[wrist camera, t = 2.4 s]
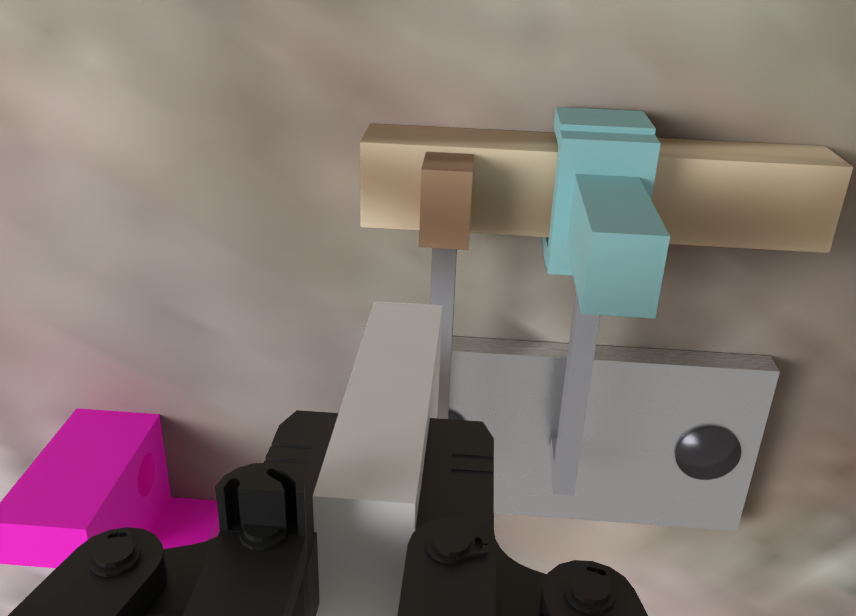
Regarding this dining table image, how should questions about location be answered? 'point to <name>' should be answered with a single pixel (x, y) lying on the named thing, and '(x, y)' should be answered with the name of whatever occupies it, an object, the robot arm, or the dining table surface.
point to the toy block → (98, 491)
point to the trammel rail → (534, 185)
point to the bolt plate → (619, 429)
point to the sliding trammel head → (601, 247)
